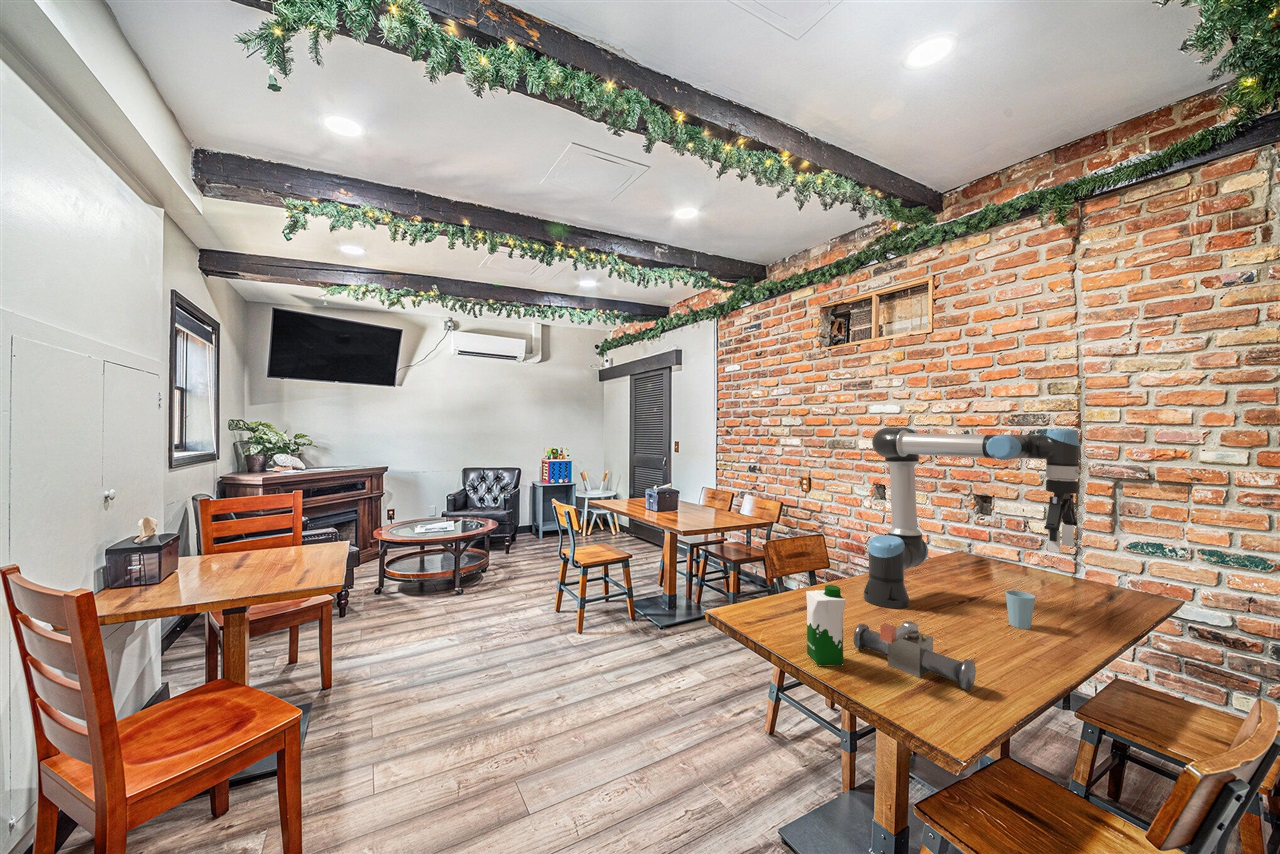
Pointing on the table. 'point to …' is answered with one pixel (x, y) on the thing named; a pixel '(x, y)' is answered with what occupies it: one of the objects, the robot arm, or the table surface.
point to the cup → (1020, 608)
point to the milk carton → (825, 625)
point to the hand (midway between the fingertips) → (1060, 548)
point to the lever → (897, 631)
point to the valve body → (916, 656)
